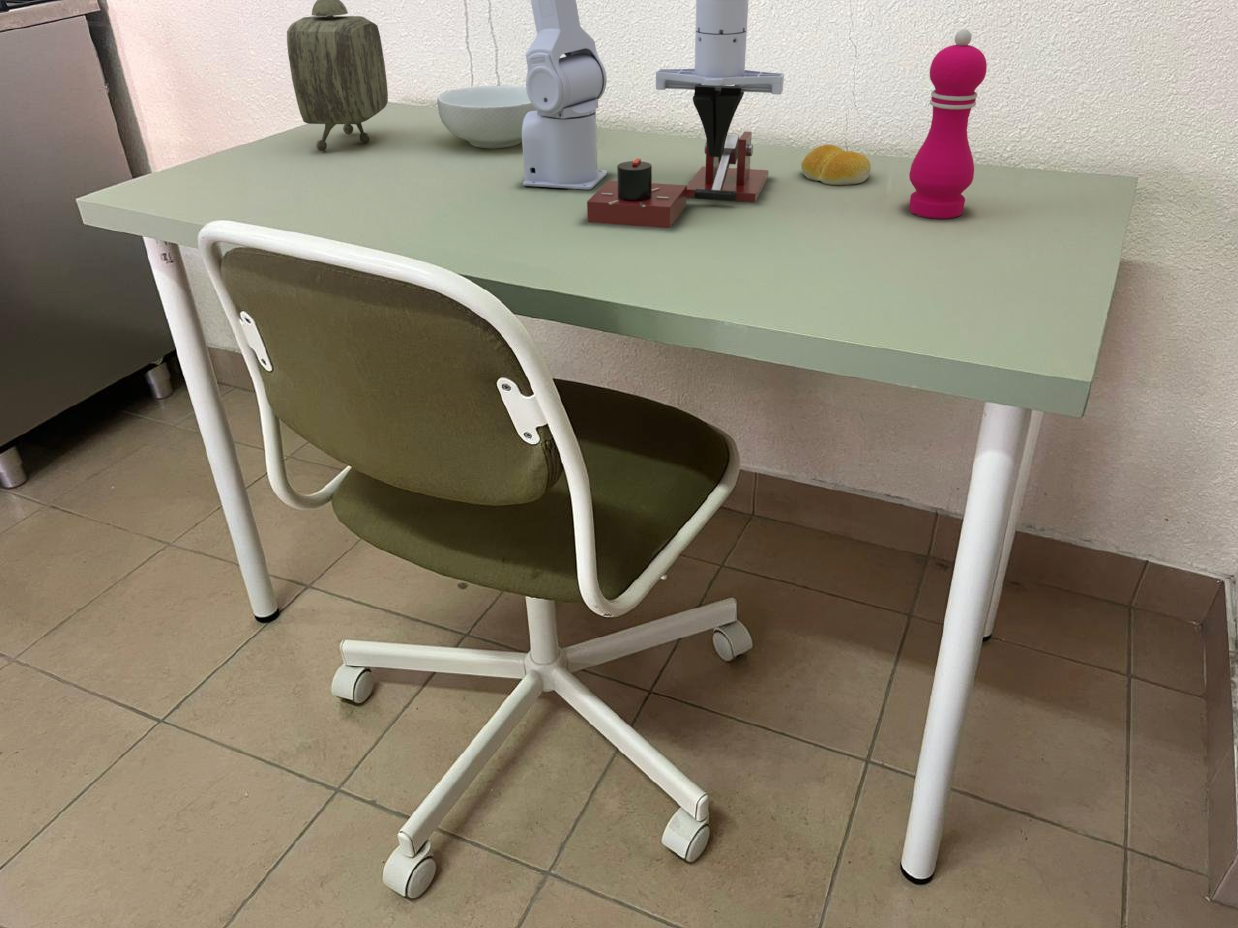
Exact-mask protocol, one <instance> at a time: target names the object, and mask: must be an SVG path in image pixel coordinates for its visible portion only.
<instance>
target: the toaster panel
mask: <svg viewBox="0 0 1238 928" xmlns="http://www.w3.org/2000/svg"><path fill="white" fill-rule="evenodd" d="M687 185H688V184H672V183H671V184H670V183H656V182H652V196H651V198H649V199H647V200H643V201H626V200H622V199H620V198H618V180H607V181H606V183H604V185H602V186H601V187H600V188H599V189H598V190H597V191H596V192H595V193H594V194H593V195H592V196H591V197H590V198H589V199H588V200H586V209H587V211H586V212H587V213H586V215H587V223H592V224H604V225H605V224H607V225H620V226H635V227H646V228H647V227H649V228H661V229H671V227H672V226H673V225H674V224H675V223H676V221H677V219H678V218H679V217H680V215H681V214H682V213H683V211H684V209H685V208H686V207H687V204H688V198H687Z"/></svg>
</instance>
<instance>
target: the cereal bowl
mask: <svg viewBox="0 0 1238 928" xmlns="http://www.w3.org/2000/svg"><path fill="white" fill-rule="evenodd" d="M436 101H437V109H438V114H439V118H440V121H441V123H442V124H443V126H444V127H445V128H446V130H447V131H448V132H449V133H451V134H452V135H453V136H454V137H455V136H456V137H457V138H459V139H462V140H464V141H467V142H468V143H469V144H470V146H473V147H476V148H480V149H482V148H483V149H502V148H510V147H514V146H517V145H519V144H521V143H522V127H523V121H524V118H525V116H526V114H527V113H528V112H530V111H537V109H536V108H535V107H534V106H533V105H532V103H531V102H530V99H529V97H528V94H527V90H526V86H521V85H520V86H519V85H479V86H468V87H459V88H455V89H454V88H453V89H450V90H446V91H443V92H442V93H441V92H440V94H438V96H437V100H436Z"/></svg>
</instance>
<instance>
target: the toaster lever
mask: <svg viewBox="0 0 1238 928" xmlns="http://www.w3.org/2000/svg"><path fill="white" fill-rule="evenodd" d="M739 138H740V135H739V134H729V133H727V137H726V141H725V146H724V153H723V154H722V156H721V157H718V161H719V166H718V170H717V173H716V176H715V180H714V183H713V186H712V190H708V189H695V193H694V198H693V199H694V200H707V201H721V202H722V201H723V202H737V201H736V191H724V190H722V189H723V186H724V182H725V179H726V175H727V172H728V168H730V165H737V157H738V140H739Z"/></svg>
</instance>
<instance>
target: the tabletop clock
mask: <svg viewBox="0 0 1238 928" xmlns="http://www.w3.org/2000/svg"><path fill="white" fill-rule="evenodd" d="M348 13H349V11H348V9H347V7H346V6H345V4H344V2H343V1H341V0H316V1H315V2H314V3H313V5H312V9H311V16H304V17H302V18H299V19H298V20H296V21H294V22H293V23H291V24H290V25H289V27H288V29H287V31H286V44H287V45H286V46H287V55H288V62H289V68H290V75H291V81H292V85H293V89H294V95H295V99H296V103H297V107H298V110H299V113H300V116H301V119H302V122H303V123H305V124H308V125H324V129H323V134H322V138H321V139H319V140H318V139H317V141H316V143H315V148H316V149H317V150H318V151H319V152H325V151H326V150H327V148H328V143H327V142H326V140H327V138H328V136H329V135H330V132H331V130H332V129H333V128H334V127H335V126H336V125H343V127H342V131H343V133H344V134H346V135H351V134H353V132H354V126H353V125H356V127H357V129H358V132H359V133H360V134H359V135H358V136H359V137H358V139H359V142H360V143H361V144H368V143H369V142H370V140H371V139H370V138H371V137H370V135H369V134H368V133H367V132H365V131H364V128H363V125H362V123H365V122H367V121H368V120H369V119H372V118H373V117H375V116H376V115H378V114H379V113H380V112H381V111H383V110H384V109H385V108H386V107H387V104H388V102H389V96H388V95H389V90H388V89H389V88H388V81H387V73H386V64H385V57H384V51H383V44H382V38H381V33H380V30H379V26H378V25H377V24H376V23H375V22H373V21H371V20H369V18H366V17H365V16H361V15H348Z"/></svg>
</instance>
